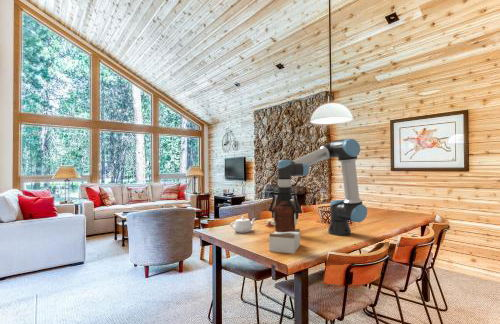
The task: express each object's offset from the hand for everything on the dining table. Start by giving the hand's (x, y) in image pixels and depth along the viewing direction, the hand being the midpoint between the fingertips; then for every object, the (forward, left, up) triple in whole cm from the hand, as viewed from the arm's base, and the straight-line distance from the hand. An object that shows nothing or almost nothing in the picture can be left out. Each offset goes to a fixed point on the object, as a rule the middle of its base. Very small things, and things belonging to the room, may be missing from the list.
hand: (285, 224), depth 162 cm
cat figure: (+19, -50, -14) cm, 55 cm away
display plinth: (0, 0, -14) cm, 14 cm away
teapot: (+38, -31, -14) cm, 51 cm away
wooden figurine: (0, 0, -4) cm, 4 cm away
